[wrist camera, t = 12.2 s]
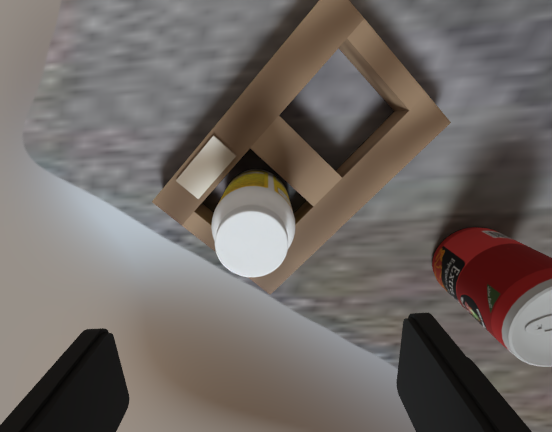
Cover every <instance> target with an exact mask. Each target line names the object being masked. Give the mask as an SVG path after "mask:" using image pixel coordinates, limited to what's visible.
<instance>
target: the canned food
mask: <svg viewBox="0 0 552 432" xmlns="http://www.w3.org/2000/svg"><path fill="white" fill-rule="evenodd" d="M432 267H433V272H434V274H435V276H436V279H437V281H438V282H439V283H440V285H441V286H442V287H443V288H444V289H445V290H446V291H447V292H448V293H449V294H451V295H452V296H453V297H454V298H455V299H456V300H457V301H458V302H459V303H460V304H461V305H462V306H463V307H464V308H465V309H466V310H467V311H468V312H469V313H470V314H471V315H472V316H473V317H474V318H475V319H476V320H477V321H478V322H479V323H480V324H481V325H482V326H483V327H484V328H486V329H487V330H488V331H489V332H490V333H491V334H492V335H493V336H494V337H495V338H496V339H497V340H498V341H499V342H500V343H501V344H502V345H503V346H505V347H506V348H507V349H508V350H509V351H510V352H511V353H512V354H514V355H515V356H516V357H518V358H519V359H520V360H521V361H523V362H525V363H528V364H530V365H535V366H545V367H549V366H552V258H551V257H548V256H546V255H544V254H542V253H540V252H538V251H536V250H534V249H532V248H530V247H528V246H526V245H524V244H522V243H520V242H518V241H515V240H513V239H511V238H509V237H507V236H505V235H503V234H501V233H499V232H497V231H495V230H492V229H488V228H479V227H472V228H465V229H462V230H459V231H457V232H455V233H453V234H451V235H450V236H448V237H447V238H446V239H445V240H444V241H443V242H442V243H441V244H440V245H439V246H438V248H437V250H436V252H435V253H434V257H433V262H432Z"/></svg>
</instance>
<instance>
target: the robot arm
mask: <svg viewBox="0 0 552 432" xmlns="http://www.w3.org/2000/svg"><path fill="white" fill-rule="evenodd" d="M397 390H398V393H399V396H400V398H401V400H402V403H403V405H404V407H405V409H406V411H407V413H408V415H409V418H410V420H411V422H412V424H413V426H414V428H415V430H416V432H531V430H530V429H529V428H528V427H527V426H526V424H525V423H524V422H523V421H522V420H521V418H520V417H519V416H518V415H517V414H516V412H515V411H514V410H513V409H512V408H511V406H510V405H509V404H508V403H507V402H506V401H505V399H504V398H503V397H502V396H501V395H500V393H499V392H498V391H497V390H496V389H495V387H494V386H493V385H492V384H491V383H490V381H489V380H488V379H487V378H486V377H485V375H484V374H483V373H482V372H481V371H480V369H479V368H478V367H477V366H476V365H475V364H474V362H473V361H472V360H470V359H469V358H468V357H466V356H465V354H464V353H463V352H462V351H461V350H460V348H459V347H458V346H457V345H456V344H455V342H454V341H453V340H452V339H451V338H450V336H449V335H448V334H447V333H446V332H445V330H444V329H443V328H442V327H441V325H440V324H439V323H438V322H437V321H436V319H435V318H434V317H433V316H432V315H431V314H430V313H415V314H410V315H409V317H408V319H404V322H403V330H402V339H401V348H400V357H399V366H398V375H397ZM128 404H129V394H128V390H127V386H126V382H125V378H124V375H123V371H122V367H121V363H120V359H119V356H118V351H117V348H116V344H115V340H114V337H113V334H111V333H109V332H108V330H107V329H87V330H84V331H83V332H82V333H81V334H80V335H79V336H78V338H77V339H76V340H75V341H74V342H73V343H72V344H71V345H70V347H69V348H68V349H67V350H66V351H65V352H64V353H63V355H62V356H61V357H60V358H59V359H58V361H56V363H55V364H54V365H53V366H52V367H51V368H50V369H49V370H48V372H47V373H46V374H45V375H44V376H43V377H42V379H41V380H40V381H39V382H38V383H37V384H36V385H35V386H34V388H33V389H32V390H31V391H30V392H29V393H28V394H27V396H26V397H25V398H24V399H23V400H22V401H21V402H20V403H19V405H18V406H17V407H16V408H15V409H14V410H13V411H12V413H11V414H10V415H9V416H8V417H7V418H6V419H5V420H4V422H3V423H2V424H1V425H0V432H116V431H117V429H118V427H119V425H120V423H121V421H122V418H123V416H124V414H125V412H126V410H127V408H128Z"/></svg>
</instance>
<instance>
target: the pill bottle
mask: <svg viewBox="0 0 552 432" xmlns="http://www.w3.org/2000/svg"><path fill="white" fill-rule="evenodd" d="M211 226H212V235H213V238H214V241H215V250H216V253H217V256H218V258H219V260H220V261H221V263H222V264H223V265H224V266H225V267H226V268H227V269H229V270H230V271H232V272H233V273H235V274H238V275H240V276H244V277H260V276H264V275H267V274H269V273H271V272H272V271H274V270H275V269H277V268H278V267H279V266H280V265H281V263H282V262H283V260H284V259H285V257H286V254H287V251H288V248H289V247H290V245H291V243H292V241H293V238H294V235H295V218H294V214H293V210H292V207H291V203H290V200H289V196H288V193H287V190H286V188H285V186H284V184H283V183H282V181H281V180H280V179H279V178H278V177H277V176H275V175H274V174H272V173H270V172H268V171H265V170H260V169H252V170H247V171H244V172H242V173H240V174H239V175H237V176H236V177H235V178H234V179H233V180H232V181H231V182H230V183H229V185H228V186H227V188H226V190H225V192H224V194H223V196H222V197H221V199H220V201H219V203H218V205H217V207H216V209H215V211H214V214H213V218H212V225H211Z"/></svg>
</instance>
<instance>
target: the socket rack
mask: <svg viewBox="0 0 552 432" xmlns="http://www.w3.org/2000/svg"><path fill="white" fill-rule="evenodd" d="M338 48H339V49H340V50H341V51H342V53H343V54H344V55H345V56H346V57H347V58H348V59H349V60H350V62H351V63H352V64H353V65H354V66H355V67H356V68H357V70H358V71H359V72H360V73H361V74H362V75H363V76H364V77H365V79H366V80H367V81H368V82H369V83H370V84H371V85H372V87H373V88H374V89H375V90H376V91H377V92H378V93H379V94H380V96H381V97H382V98H383V99H384V100H385V101H386V102H387V104H388V105H389V106H390V107H391V108H392V109H393V110H394V112H393V113H392V114H391V115H390V116H389V117H388V118H387V119H386V120H385V121H384V122H383V123H382V124H381V125H380V127H379V128H378V129H377V130H376V131H375V132H374V133H373V134H372V135H371V136H370V137H369V138H368V139H367V140H366V141H365V142H364V143H363V144H362V145H361V146H360V147H359V148H358V149H357V150H356V151H355V152H354V153H353V154H352V155H351V156H350V157H349V158H348V159H347V160H346V161H345V162H344V163H343V164H342V165H341V166H340V167H339V168H338V169H337V170H336V171H335V170H334V169H333V168H332V167H331V166H330V165H329V164H328V163H327V162H326V161H325V160H324V159H323V158H322V157H321V156H320V155H318V154H317V153H316V152H315V151H314V150H313V149H312V148H311V147H310V146H309V145H308V144H307V143H306V142H305V141H304V140H303V139H302V138H301V137H300V136H299V135H298V134H297V133H296V132H295V131H294V130H293V129H292V128H291V127H290V126H289V125H288V124H287V123H286V122H285V121H284V120H283V119H282V118H281V117H280V116H279V115H280V114H281V113H282V111H283V110H284V109H285V108H286V107H287V106H288V105H289V103H290V102H291V101H292V100H293V99H294V98H295V97H296V96H297V94H298V93H299V92H300V91H301V90H302V89H303V88H304V86H305V85H306V84H307V83H308V82H309V81H310V80H311V79H312V77H313V76H314V75H315V74H316V73H317V72H318V71H319V69H320V68H321V67H322V66H323V65H324V64H325V63H326V62H327V60H328V59H329V58H330V57H331V56H332V55H333V54H334V53H335V51H336V50H337V49H338ZM450 123H451V122H450V121H449V120H448V119H447V117H446V116H445V115H444V114H443V113H442V111H441V110H440V109H439V108H438V107H437V105H436V104H435V103H434V102H433V101H432V99H431V98H430V97H429V96H428V95H427V93H426V92H425V91H424V90H423V89H422V87H421V86H420V85H419V84H418V83H417V81H416V80H415V79H414V78H413V77H412V75H411V74H410V73H409V72H408V71H407V69H406V68H405V67H404V66H403V64H402V63H401V62H400V61H399V60H398V58H397V57H396V56H395V55H394V54H393V52H392V51H391V50H390V49H389V48H388V46H387V45H386V44H385V43H384V42H383V40H382V39H381V38H380V37H379V36H378V34H377V33H376V32H375V31H374V30H373V28H372V27H371V26H370V25H369V24H368V22H367V21H366V20H365V19H364V18H363V16H362V15H361V14H360V13H359V12H358V10H357V9H356V8H355V7H354V6H353V4H352V3H351V2H350V1H349V0H319V1H318V2H317V4H316V5H315V6H314V7H313V9H312V10H311V11H310V12H309V13H308V15H307V16H306V17H305V18H304V19H303V21H302V22H301V23H300V24H299V25H298V27H297V28H296V29H295V30H294V31H293V33H292V34H291V35H290V36H289V37H288V39H287V40H286V41H285V42H284V43H283V45H282V46H281V47H280V48H279V49H278V51H277V52H276V53H275V54H274V55H273V57H272V58H271V59H270V60H269V61H268V63H267V64H266V65H265V66H264V67H263V69H262V70H261V71H260V72H259V73H258V75H257V76H256V77H255V78H254V79H253V81H252V82H251V83H250V84H249V85H248V87H247V88H246V89H245V90H244V92H243V93H242V94H241V95H240V96H239V98H238V99H237V100H236V101H235V102H234V104H233V105H232V106H231V107H230V108H229V110H228V111H227V112H226V113H225V114H224V116H223V117H222V118H221V119H220V120H219V122H218V123H217V124H216V125H215V126H214V128H213V129H212V130H211V131H210V132H209V134H208V135H207V136H206V137H205V138H204V140H203V141H202V142H201V143H200V144H199V146H198V147H197V148H196V149H195V150H194V152H193V153H192V154H191V155H190V156H189V158H188V159H187V160H186V161H185V162H184V164H183V165H182V166H181V167H180V168H179V170H178V171H177V172H176V173H175V175H174V176H173V177H172V178H171V179H170V181H169V182H168V183H167V184H166V185H165V187H164V188H163V189H162V190H161V191H160V193H159V194H158V195H157V196H156V197H155V199H154V200H153V201H152V202H153V203H154V204H155V205H157V206H158V207H159V208H160V209H162V210H163V211H164V212H165V213H167V214H168V215H169V216H171V217H172V218H173V219H174V220H176V221H177V222H178V223H179V224H181V225H182V226H183V227H185V228H186V229H187V230H188V231H190V232H191V233H192V234H193V235H195V236H196V237H197V238H199V239H200V240H201V241H202V242H204V243H205V244H206V245H208V246H209V247H210V248H211V249H213V250H214V251H215V252H216V250H215V241H214V238H213V235H212V226H211V225H212V218H213V214H214V213H213V212H212V211H211V210H210V209H209V208H207V207H206V206H205V205H204V204H202V202H203V201H204V200H205V199H206V198H207V196H208V195H209V194H210V193H211V192H212V191H213V190H214V188H215V187H216V186H217V185H218V184H219V183H220V182H221V181H222V179H223V178H224V177H225V176H226V175H227V174H228V173H229V171H230V170H231V169H232V168H233V167H234V166H235V165H236V164H237V162H238V161H239V160H240V159H241V158H242V157H243V156H244V154H245V153H246V152H247V151H248V150H249V149H250V148H251V149H252V150H253V151H254V152H255V153H256V154H257V155H258V156H259V157H260V158H261V159H263V160H264V161H265V162H266V163H267V164H268V165H269V166H270V167H271V168H272V169H273V170H274V171H276V172H277V173H278V174H279V175H280V176H281V177H282V178H283V179H284V180H285V181H286V182H287V183H289V184H290V185H291V186H292V187H293V188H294V189H295V190H296V191H297V192H298V193H299V194H301V195H302V196H303V197H304V198H305V199H306V200H307V201H306V202H305V203H304V204H303V205H302V206H301V207H300V208H299V209H298V210H297V211H296V212H295V213H294V218H295V235H294V238H293V241H292V243H291V245H290V247H289V248H288V251H287V254H286V257H285V259H284V260H283V262H282V263H281V265H280V266H279V267H278V268H277V269H275V270H274V271H272V272H271V273H269V274H267V275H264V276H260V277H248V278H250V279H251V280H252V281H253V282H255V283H256V284H257V285H258V286H260V287H261V288H262V289H264V290H265V291H266V292H267V293H269V294H271V293H272V292H273V291H275V290H276V289H277V288H278V287H279V286H280V285H281V284H282V283H283V282H284V281H285V280H286V279H287V278H288V277H289V276H290V275H291V274H292V273H293V272H294V271H296V270H297V269H298V268H299V267H300V266H301V265H302V264H303V263H304V262H305V261H306V260H307V259H308V258H309V257H310V256H311V255H312V254H313V253H314V252H315V251H316V250H318V249H319V248H320V247H321V246H322V245H323V244H324V243H325V242H326V241H327V240H328V239H329V238H330V237H331V236H332V235H333V234H334V233H335V232H336V231H337V230H339V229H340V228H341V227H342V226H343V225H344V224H345V223H346V222H347V221H348V220H349V219H350V218H351V217H352V216H353V215H354V214H355V213H356V212H357V211H358V210H360V209H361V208H362V207H363V206H364V205H365V204H366V203H367V202H368V201H369V200H370V199H371V198H372V197H373V196H374V195H375V194H376V193H377V192H378V191H379V190H381V189H382V188H383V187H384V186H385V185H386V184H387V183H388V182H389V181H390V180H391V179H392V178H393V177H394V176H395V175H396V174H397V173H398V172H399V171H400V170H401V169H403V168H404V167H405V166H406V165H407V164H408V163H409V162H410V161H411V160H412V159H413V158H414V157H415V156H416V155H417V154H418V153H419V152H420V151H421V150H422V149H424V148H425V147H426V146H427V145H428V144H429V143H430V142H431V141H432V140H433V139H434V138H435V137H436V136H437V135H438V134H439V133H440V132H441V131H442V130H443V129H445V128H446V127H447V126H448V125H449V124H450Z"/></svg>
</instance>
